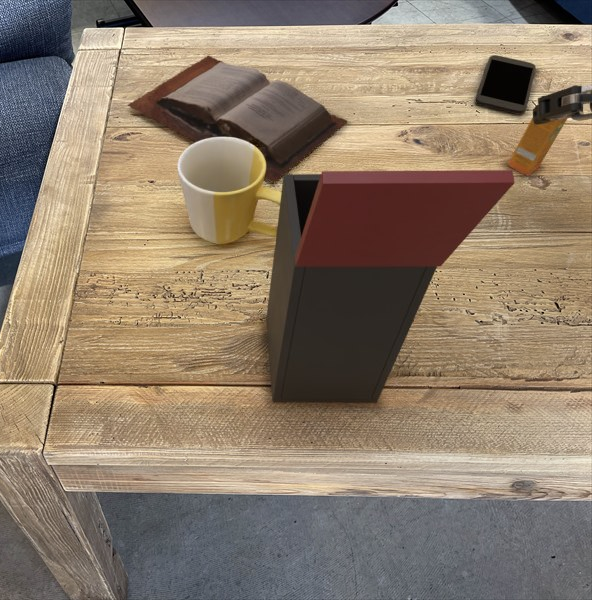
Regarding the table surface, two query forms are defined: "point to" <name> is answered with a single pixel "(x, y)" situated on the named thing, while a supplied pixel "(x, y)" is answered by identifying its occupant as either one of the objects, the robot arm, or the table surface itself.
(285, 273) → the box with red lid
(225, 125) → the book
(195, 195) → the mug
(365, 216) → the red lid
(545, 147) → the supplement box
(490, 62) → the smartphone
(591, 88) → the robot arm
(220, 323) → the table surface
